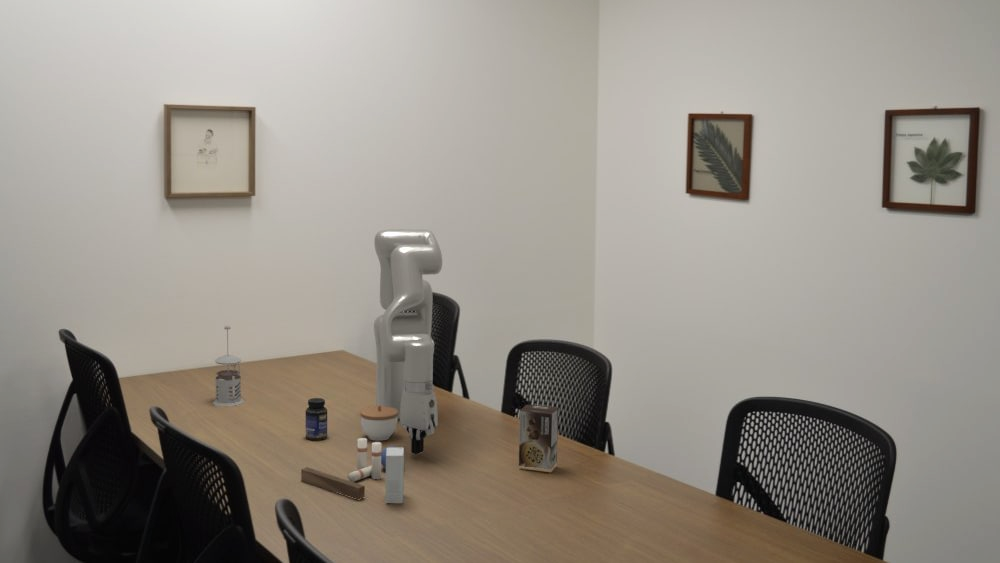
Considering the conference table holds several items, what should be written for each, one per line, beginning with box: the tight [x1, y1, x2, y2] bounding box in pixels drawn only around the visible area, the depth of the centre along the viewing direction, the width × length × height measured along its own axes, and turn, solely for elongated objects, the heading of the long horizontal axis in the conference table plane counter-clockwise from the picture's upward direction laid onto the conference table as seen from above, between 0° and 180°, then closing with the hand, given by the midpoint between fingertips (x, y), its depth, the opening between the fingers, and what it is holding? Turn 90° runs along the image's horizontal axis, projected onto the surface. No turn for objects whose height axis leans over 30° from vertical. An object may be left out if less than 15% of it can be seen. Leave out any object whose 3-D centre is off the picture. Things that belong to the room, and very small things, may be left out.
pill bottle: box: [305, 397, 328, 441], centre depth 274 cm, size 6×6×11 cm
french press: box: [212, 325, 245, 407], centre depth 306 cm, size 10×12×25 cm
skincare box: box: [385, 447, 405, 504], centre depth 229 cm, size 6×4×12 cm
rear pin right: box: [356, 437, 368, 470], centre depth 246 cm, size 2×2×9 cm
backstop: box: [300, 466, 366, 500], centre depth 235 cm, size 2×20×3 cm, turn 53°
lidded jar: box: [359, 405, 399, 442], centre depth 276 cm, size 11×11×9 cm
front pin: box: [348, 464, 372, 483], centre depth 244 cm, size 2×2×9 cm
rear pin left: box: [371, 441, 383, 480], centre depth 243 cm, size 2×2×9 cm
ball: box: [381, 446, 398, 469], centre depth 250 cm, size 6×6×6 cm
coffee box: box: [518, 404, 559, 469], centre depth 253 cm, size 9×6×16 cm
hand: (417, 452), depth 259 cm, fingers closed
